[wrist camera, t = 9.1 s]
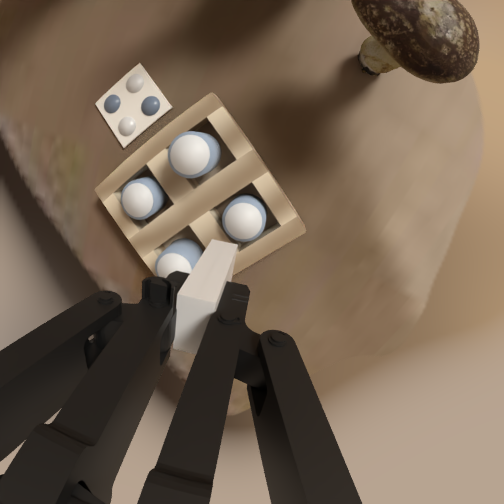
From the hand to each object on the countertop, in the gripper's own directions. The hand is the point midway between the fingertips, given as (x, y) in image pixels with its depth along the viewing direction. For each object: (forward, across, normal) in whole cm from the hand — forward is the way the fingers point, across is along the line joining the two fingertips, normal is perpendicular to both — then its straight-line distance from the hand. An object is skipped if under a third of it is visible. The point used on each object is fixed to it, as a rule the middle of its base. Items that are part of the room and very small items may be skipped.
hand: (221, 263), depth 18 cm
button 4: (+15, 0, 0) cm, 15 cm away
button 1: (+15, -10, 0) cm, 18 cm away
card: (+15, -15, +9) cm, 23 cm away
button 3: (+12, -5, -6) cm, 14 cm away
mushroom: (+16, +10, +19) cm, 26 cm away
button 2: (+12, -5, +5) cm, 14 cm away
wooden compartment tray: (+15, -5, 0) cm, 16 cm away
